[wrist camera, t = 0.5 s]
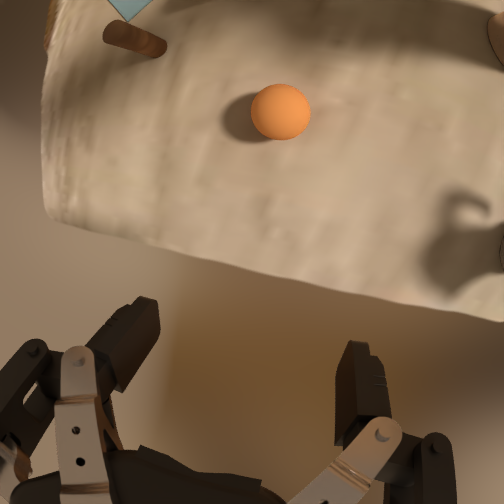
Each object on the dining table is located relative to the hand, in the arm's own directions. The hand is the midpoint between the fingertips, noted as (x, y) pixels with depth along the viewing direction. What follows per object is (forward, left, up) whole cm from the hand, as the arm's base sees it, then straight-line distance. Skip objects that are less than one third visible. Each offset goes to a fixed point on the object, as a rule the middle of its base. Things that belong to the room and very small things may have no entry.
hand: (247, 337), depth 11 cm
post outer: (+1, -24, -22) cm, 33 cm away
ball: (-5, -8, -19) cm, 21 cm away
